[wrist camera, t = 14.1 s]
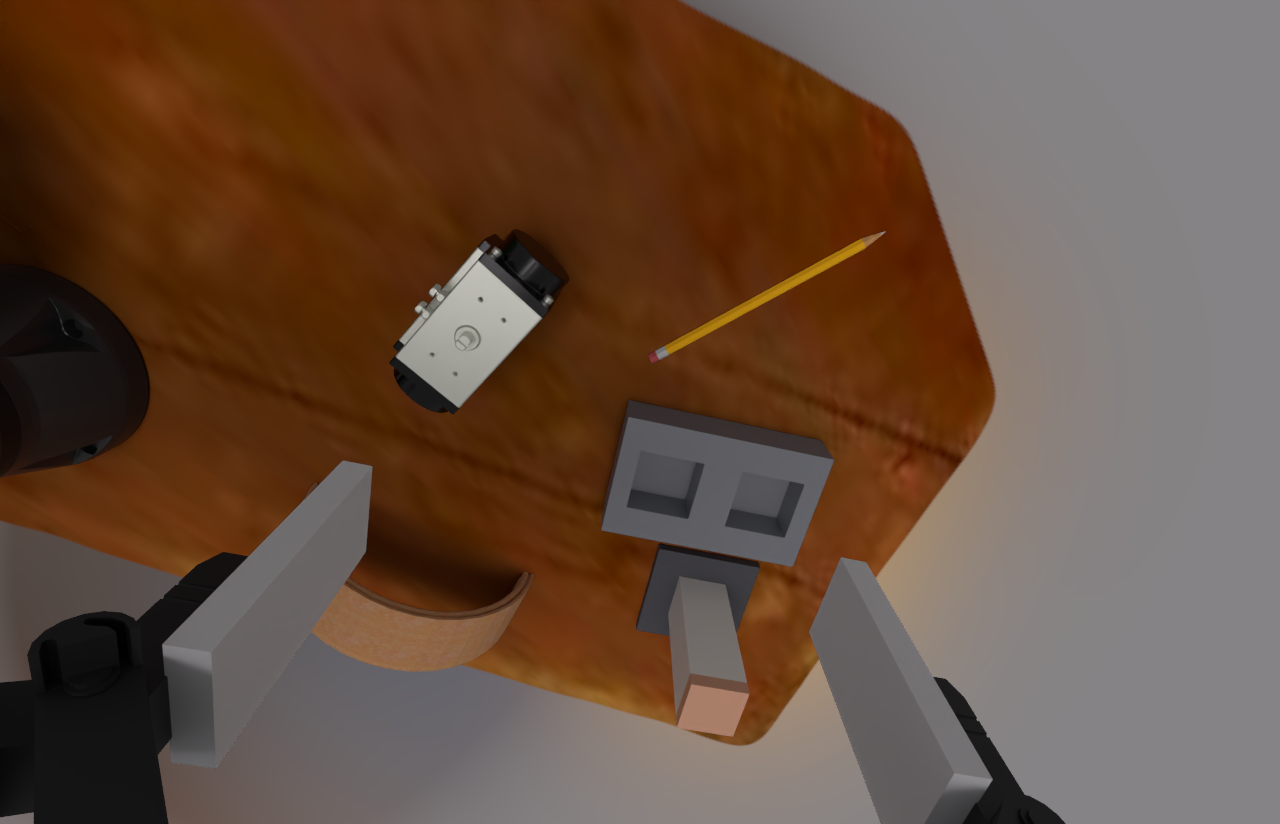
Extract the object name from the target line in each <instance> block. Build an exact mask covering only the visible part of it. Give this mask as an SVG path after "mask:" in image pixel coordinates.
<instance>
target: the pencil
mask: <svg viewBox="0 0 1280 824" xmlns="http://www.w3.org/2000/svg"><path fill="white" fill-rule="evenodd" d="M885 232H886V231H885ZM883 233H884V232H881V233H877V234H874V235H871V236H868V237H865V238H862V239H860V240H858V241H856V242H854V243H852V244H850V245H849V246H847V247H845V248H843V249H841V250H839V251H838V252H836V253H834V254H832V255H830V256H828V257H827V258H825V259H823V260H821V261H819V262H817V263H816V264H814V265H812V266H810V267H808V268H806V269H805V270H803V271H801V272H799V273H797V274H795V275H794V276H792V277H790V278H788V279H786V280H784V281H783V282H781V283H779V284H777V285H775V286H774V287H772V288H770V289H768V290H766V291H764V292H763V293H761V294H759V295H757V296H755V297H753V298H752V299H750V300H748V301H746V302H744V303H742V304H741V305H739V306H737V307H735V308H733V309H731V310H730V311H728V312H726V313H724V314H722V315H720V316H719V317H717V318H715V319H713V320H711V321H709V322H708V323H706V324H704V325H702V326H700V327H698V328H697V329H695V330H693V331H691V332H689V333H687V334H686V335H684V336H682V337H680V338H678V339H676V340H675V341H673V342H671V343H669V344H667V345H665V346H664V347H662V348H660V349H658V350H656V351H654V352H653V353H651V354H649V355H648V357H649V360H650V361H651V363H655V362H657V361H659V360H661V359H662V358H664V357H666V356H668V355H670V354H672V353H673V352H675V351H677V350H679V349H681V348H683V347H685V346H686V345H688V344H690V343H692V342H694V341H696V340H697V339H699V338H701V337H703V336H705V335H707V334H709V333H710V332H712V331H714V330H716V329H718V328H720V327H721V326H723V325H725V324H727V323H729V322H731V321H733V320H734V319H736V318H738V317H740V316H742V315H744V314H745V313H747V312H749V311H751V310H753V309H755V308H756V307H758V306H760V305H762V304H764V303H766V302H768V301H769V300H771V299H773V298H775V297H777V296H779V295H780V294H782V293H784V292H786V291H788V290H790V289H792V288H793V287H795V286H797V285H799V284H801V283H803V282H804V281H806V280H808V279H810V278H812V277H814V276H816V275H817V274H819V273H821V272H823V271H825V270H827V269H828V268H830V267H832V266H834V265H836V264H838V263H839V262H841V261H843V260H845V259H847V258H849V257H851V256H852V255H854V254H856V253H858V252H860V251H862V250H863V249H865V248H866V247H868V246H869V245H870V244H871V243H873V242H874V241H875V240H876V239H878V238H879V237H880V236H881V235H882V234H883Z"/></svg>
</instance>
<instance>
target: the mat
mask: <svg viewBox="0 0 1280 824" xmlns="http://www.w3.org/2000/svg"><path fill="white" fill-rule="evenodd" d="M759 569H760V567H759V564H758V562H753V561H748V560H743V559H738V558H732V557H727V556H722V555H717V554H711V553H706V552H701V551H695V550H690V549H685V548H680V547H674V546H669V545H664V544H659V546H658V550H657V553H656V557H655V560H654V564H653V567H652V571H651V574H650V578H649V581H648V585H647V588H646V592H645V595H644V599H643V602H642V606H641V609H640V613H639V616H638V620H637V623H636V630H639V631H645V632H651V633H656V634H662V635H668V636H670V632H669V619H668V613H669V609H670V606H671V603H672V600H673V596H674V593H675V590H676V586H677V583H678V580H679V576H680V577H686V578H691V579H697V580H702V581H708V582H713V583H719V584H724V585H726V589H727V593H728V598H729V603H730V607H731V612H732V616H733V621H734V626H735V630H736V632H737V629H738V626H739V624H740V621H741V618H742V615H743V613H744V610H745V607H746V604H747V602H748V599H749V596H750V593H751V591H752V588H753V585H754V583H755V580H756V577H757V574H758V572H759Z"/></svg>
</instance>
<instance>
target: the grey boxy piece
mask: <svg viewBox="0 0 1280 824" xmlns="http://www.w3.org/2000/svg"><path fill="white" fill-rule="evenodd" d="M833 462H834V459H833V457H832V456H831V454H830V453H829V451H828V450H827V449H826V447H825V446H824V444H823V443H822V441H821V440H816V439H811V438H807V437H802V436H797V435H793V434H788V433H783V432H778V431H774V430H769V429H764V428H759V427H755V426H750V425H745V424H740V423H736V422H731V421H726V420H722V419H717V418H712V417H707V416H703V415H698V414H693V413H688V412H684V411H679V410H674V409H669V408H665V407H660V406H655V405H650V404H646V403H641V402H636V401H632V400H629V401H628V406H627V410H626V414H625V418H624V422H623V427H622V431H621V435H620V439H619V443H618V448H617V452H616V456H615V460H614V464H613V468H612V473H611V477H610V481H609V485H608V489H607V494H606V498H605V502H604V506H603V515H602V527H601V530H602V531H608V532H613V533H618V534H623V535H629V536H634V537H639V538H644V539H650V540H655V541H660V542H665V543H671V544H676V545H681V546H686V547H692V548H697V549H702V550H707V551H713V552H718V553H723V554H728V555H734V556H739V557H744V558H750V559H755V560H760V561H765V562H771V563H776V564H781V565H786V566H792V567H793V565H794V562H795V559H796V557H797V554H798V552H799V549H800V547H801V544H802V541H803V539H804V536H805V534H806V531H807V529H808V526H809V523H810V521H811V518H812V516H813V513H814V511H815V508H816V505H817V503H818V500H819V498H820V495H821V493H822V490H823V487H824V485H825V482H826V480H827V477H828V475H829V472H830V469H831V467H832V464H833Z"/></svg>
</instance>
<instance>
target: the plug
mask: <svg viewBox="0 0 1280 824" xmlns="http://www.w3.org/2000/svg"><path fill="white" fill-rule="evenodd" d="M668 619H669V632H670V645H671V658H672V671H673V684H674V698H675V711H676V724H677V728H682V729H688V730H695V731H701V732H707V733H714V734H720V735H726V736H732V737H733V735H734V732H735V730H736V727H737V725H738V722H739V720H740V717H741V714H742V712H743V709H744V707H745V704H746V702H747V699H748V696H749V690H748V685H747V681H746V676H745V671H744V667H743V662H742V658H741V653H740V648H739V644H738V639H737V635H736V630H735V626H734V621H733V616H732V612H731V607H730V603H729V598H728V593H727V589H726V585H724V584H719V583H713V582H708V581H702V580H697V579H691V578H686V577H680V576H679V580H678V583H677V586H676V590H675V593H674V596H673V600H672V603H671V606H670V609H669V613H668Z"/></svg>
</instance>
